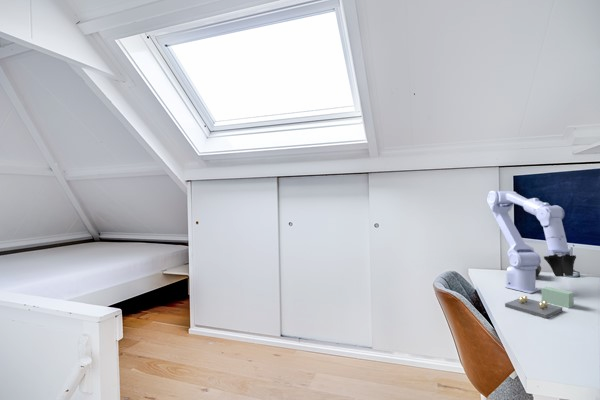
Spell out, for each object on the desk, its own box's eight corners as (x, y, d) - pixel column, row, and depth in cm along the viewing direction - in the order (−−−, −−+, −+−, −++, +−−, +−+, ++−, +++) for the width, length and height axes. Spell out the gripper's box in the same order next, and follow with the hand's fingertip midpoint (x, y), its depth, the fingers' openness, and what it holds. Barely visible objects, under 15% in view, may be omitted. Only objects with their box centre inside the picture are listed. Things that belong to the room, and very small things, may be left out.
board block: (541, 301, 113) (541, 288, 113) (546, 299, 115) (546, 286, 115) (568, 308, 106) (568, 294, 106) (573, 306, 108) (573, 292, 108)
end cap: (539, 280, 140) (539, 265, 139) (520, 278, 144) (520, 263, 144) (541, 276, 147) (541, 262, 147) (523, 273, 152) (523, 260, 152)
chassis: (505, 306, 108) (505, 297, 108) (522, 300, 114) (522, 291, 114) (545, 318, 98) (545, 308, 98) (562, 310, 104) (562, 301, 104)
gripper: (559, 235, 106) (569, 276, 102) (577, 237, 113) (587, 275, 109) (536, 238, 111) (544, 276, 108) (554, 239, 119) (563, 275, 115)
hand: (564, 276), depth 109 cm, fingers open, 7 cm apart
